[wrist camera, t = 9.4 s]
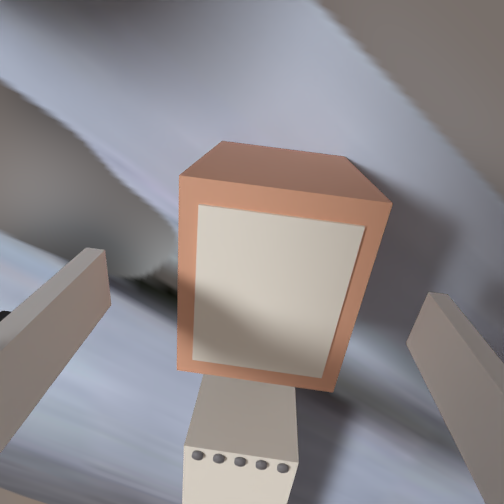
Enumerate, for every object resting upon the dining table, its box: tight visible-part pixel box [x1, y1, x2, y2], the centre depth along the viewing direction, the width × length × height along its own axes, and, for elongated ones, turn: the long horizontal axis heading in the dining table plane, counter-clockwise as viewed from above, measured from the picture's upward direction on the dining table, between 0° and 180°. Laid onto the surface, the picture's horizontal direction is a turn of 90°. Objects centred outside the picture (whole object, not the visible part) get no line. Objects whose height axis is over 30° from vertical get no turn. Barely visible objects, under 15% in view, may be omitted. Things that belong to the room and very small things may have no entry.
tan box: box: [177, 141, 393, 392], centre depth 19 cm, size 10×8×10 cm
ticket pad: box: [182, 374, 299, 504], centre depth 30 cm, size 20×8×8 cm, turn 174°
